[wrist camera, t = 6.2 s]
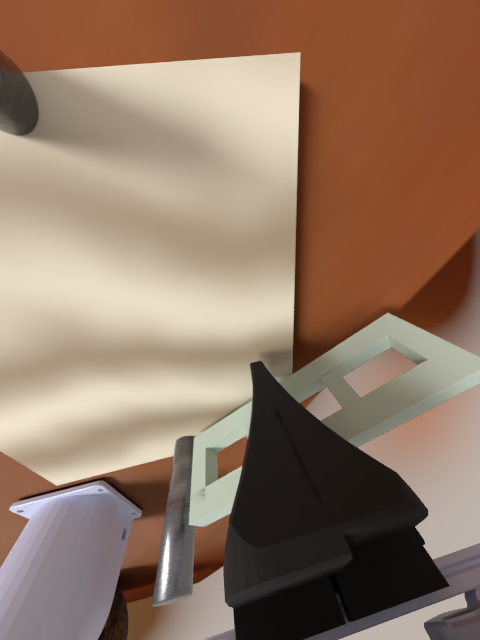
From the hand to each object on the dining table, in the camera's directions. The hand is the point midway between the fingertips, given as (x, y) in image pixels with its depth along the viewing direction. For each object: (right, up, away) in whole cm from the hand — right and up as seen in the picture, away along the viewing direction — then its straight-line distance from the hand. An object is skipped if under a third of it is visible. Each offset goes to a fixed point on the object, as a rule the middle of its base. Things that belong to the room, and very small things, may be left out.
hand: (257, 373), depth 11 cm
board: (-8, +1, 0) cm, 8 cm away
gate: (+2, -1, +2) cm, 3 cm away
